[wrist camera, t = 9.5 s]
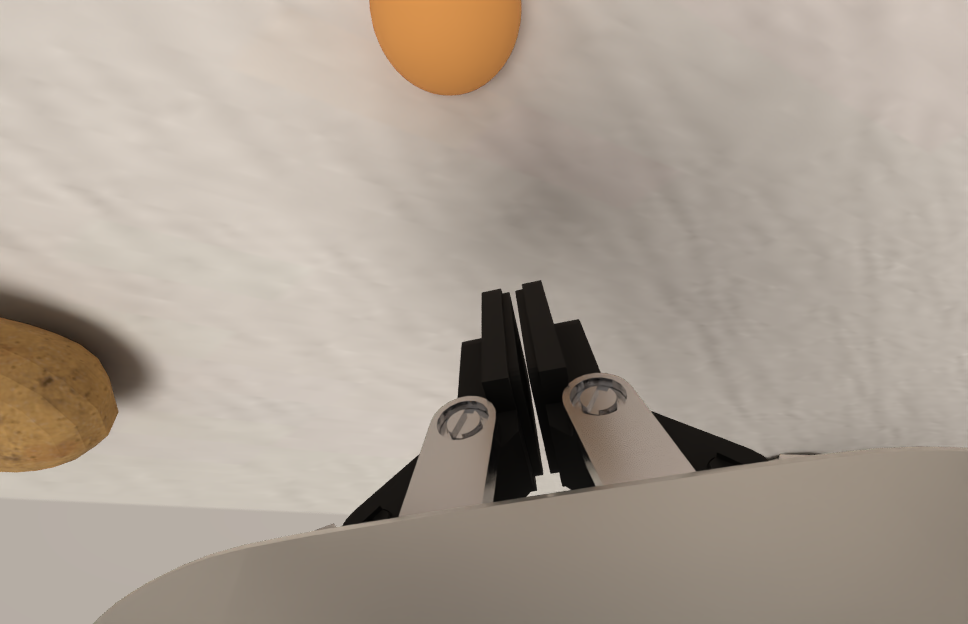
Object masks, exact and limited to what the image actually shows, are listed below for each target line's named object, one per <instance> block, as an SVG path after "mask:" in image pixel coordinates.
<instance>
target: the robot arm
mask: <svg viewBox="0 0 968 624" xmlns="http://www.w3.org/2000/svg"><path fill="white" fill-rule="evenodd" d="M522 288H523V289H522V290H517V291H515V292H516V299H517V305H518V312H519V318H520V324H521V331H522V337H523V344H524V350H525V356H526V363H527V368H526V364H525V359H524V355H523V350H522V346H521V341H520V337H519V332H518V328H517V323H516V319H515V315H514V310H513V306H512V301H511V297H510V293H509V292H507V293H502V291H501V289H497V290H492V291H487V292H482V338H480V339H475V340H470V341H465V342H462V347H461V360H460V374H459V387H458V398H457V399H455V400H452V401H450V402H448V403H447V404H445V405H444V406H442V407H441V408H440V409H439V410H438V411H437V412H436V413H435V414H434V416H433V418H432V420H431V422H430V425H429V428H428V431H427V434H426V437H425V440H424V443H423V446H422V449H421V452H420V454H419V455H418V456H417V457H416V458H414V459H413V460H412V461H411V462H410V463H409V464H407V465H406V466H405V467H404V468H403V469H402V470H401V471H399V472H398V473H397V474H396V475H395V476H394V477H393V478H391V479H390V480H389V481H388V482H387V483H386V484H385V485H383V486H382V487H381V488H380V489H379V490H378V491H376V492H375V493H374V494H373V495H372V496H371V497H370V498H368V499H367V500H366V501H365V502H364V503H363V504H362V505H360V506H359V507H358V508H357V509H356V510H355V511H354V512H353V513H352V514H351V515H350V516H349V517H348V518H347V519H346V521H345V522H344V524H343V526H341V527H336V526H335V524H331V525H328V526H325V527H323V528H320V529H317V530H315V531H312V532H306V533H300V534H295V535H291V536H285V537H280V538H275V539H270V540H265V541H260V542H255V543H250V544H245V545H241V546H238V547H234V548H231V549H227V550H224V551H220V552H216V553H213V554H210V555H208V556H205V557H203V558H200V559H197V560H194V561H192V562H189V563H187V564H184V565H182V566H180V567H178V568H176V569H174V570H172V571H170V572H168V573H166V574H164V575H162V576H160V577H158V578H156V579H154V580H152V581H150V582H148V583H146V584H145V585H143V586H141V587H140V588H138V589H137V590H135V591H133V592H131V593H130V594H128V595H127V596H126V597H124V598H123V599H121V600H120V601H118V602H117V603H115V604H114V605H113V606H112V607H111V608H109V609H108V610H107V611H106V612H105V613H104V614H102V616H100V617H99V618H98V619H97V620H96V621H95V622H94V623H93V624H968V448H958V447H925V446H916V447H894V448H873V449H864V450H855V451H846V452H838V453H828V454H819V455H786V454H780V455H779V458H777V459H773V460H768V459H767V458H765V457H764V456H763V455H761V454H759V453H757V452H755V451H753V450H751V449H749V448H747V447H744V446H741V445H739V444H736V443H733V442H731V441H728V440H726V439H723V438H720V437H718V436H715V435H712V434H710V433H707V432H705V431H702V430H699V429H697V428H694V427H691V426H689V425H686V424H684V423H681V422H678V421H676V420H673V419H670V418H668V417H665V416H663V415H660V414H657V413H655V412H652V411H650V410H649V408H648V407H647V406H646V404H645V403H644V402H643V400H642V399H641V398H640V396H639V395H638V394H637V392H636V391H635V390H634V388H633V387H632V386H631V385H630V384H629V383H628V382H627V381H626V380H625V379H623V378H621V377H619V376H616V375H612V374H608V373H601V372H600V370H599V368H598V365H597V363H596V360H595V358H594V355H593V353H592V350H591V348H590V345H589V343H588V340H587V338H586V335H585V333H584V330H583V328H582V325H581V323H580V321H579V319H577V320H572V321H567V322H562V323H556V324H554V323H553V320H552V316H551V313H550V309H549V306H548V303H547V299H546V296H545V292H544V289H543V285H542V282H541V280H540V281H535V282H530V283H525V284H522ZM527 369H528V373H527ZM528 374H529V378H528ZM529 379H530V384H531V389H532V393H533V398H534V402H535V407H536V411H537V416H538V420H539V425H540V429H541V433H542V438H543V442H544V447H545V451H546V456H547V460H548V465H549V469H550V473H551V474H552V473H558V472H559V473H560V478H561V483H562V486H563V487H564V486H566V487H568V488H569V489H571V490H569V491H563V492H556V493H550V494H543V495H537V496H530V497H526V496H527V495H528V494H529V493H530V492H532V491H537V487H536V479H535V476H539V475H543V468H542V462H541V455H540V449H539V442H538V436H537V429H536V423H535V416H534V410H533V404H532V397H531V391H530V384H529Z"/></svg>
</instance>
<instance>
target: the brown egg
mask: <svg viewBox="0 0 968 624" xmlns="http://www.w3.org/2000/svg"><path fill="white" fill-rule="evenodd" d="M369 1H370V12H371V18H372V23H373V28H374V31H375V34H376V37H377V39H378V42H379V44H380V46H381V48H382V50H383V52H384V54H385V55H386V57H387V59H388V60H389V61H390V63H391V64H392V65H393V67H394V68H395V69H396V70H397V71H398V72H399V73H400V74H401V75H402V76H403V77H404V78H405V79H406V80H408V81H409V82H410V83H412V84H413V85H415V86H417V87H419V88H421V89H423V90H425V91H428V92H431V93H433V94H439V95H461V94H465V93H469V92H471V91H474V90H476V89H478V88H480V87H481V86H483V85H485V84H486V83H487V82H489V81H490V80H491V79H492V78H493V77H494V76H495V75H496V74H497V73H498V72H499V71H500V70H501V68H502V67H503V66H504V64H505V63H506V61H507V59H508V58H509V56H510V54H511V52H512V50H513V48H514V45H515V42H516V39H517V36H518V31H519V27H520V21H521V0H369Z"/></svg>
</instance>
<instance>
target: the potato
mask: <svg viewBox="0 0 968 624" xmlns="http://www.w3.org/2000/svg"><path fill="white" fill-rule="evenodd" d="M117 414H118V408H117V405H116V401H115V397H114V394H113V390H112V387H111V383H110V379H109V377H108V375H107V373H106V371H105V370H104V368H103V366H102V364H101V363H100V361H99V359H98V358H97V357H96V356H94V355H93V354H92V353H90V352H89V351H88V350H87V349H85V348H84V347H83V346H82V345H80V344H78V343H76V342H74V341H72V340H69V339H67V338H65V337H63V336H60V335H58V334H56V333H53V332H50V331H47V330H44V329H41V328H38V327H35V326H32V325H29V324H25V323H21V322H17V321H13V320H9V319H4V318H0V472H25V471H37V470H42V469H47V468H52V467H56V466H59V465H61V464H64V463H67V462H70V461H72V460H75V459H77V458H78V457H80V456H81V455H83V454H84V453H86V452H87V451H89V450H90V449H92V448H93V447H95V446H96V445H97V444H98V443H100V442H101V441H102V440H103V439H104V438H105V437H106V436H108V434H109V432H110V430H111V428H112V425H113V423H114V421H115V419H116V416H117Z"/></svg>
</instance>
